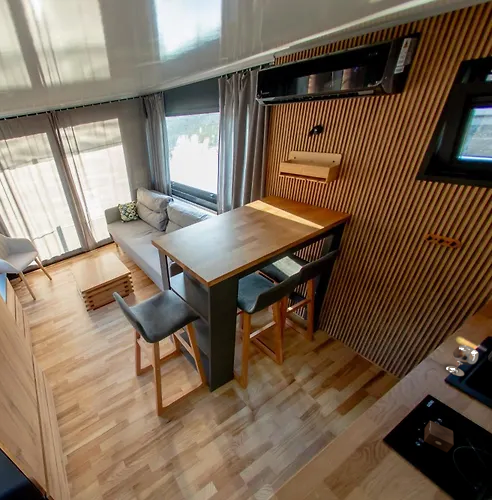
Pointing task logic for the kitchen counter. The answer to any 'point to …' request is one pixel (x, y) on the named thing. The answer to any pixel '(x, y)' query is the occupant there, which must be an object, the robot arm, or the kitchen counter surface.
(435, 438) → the die
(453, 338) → the kitchen counter surface
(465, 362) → the wineglass
